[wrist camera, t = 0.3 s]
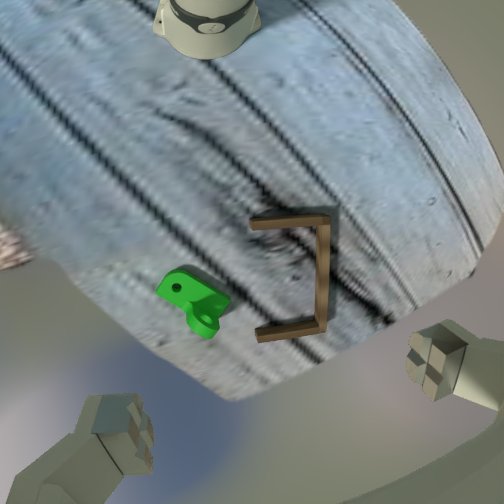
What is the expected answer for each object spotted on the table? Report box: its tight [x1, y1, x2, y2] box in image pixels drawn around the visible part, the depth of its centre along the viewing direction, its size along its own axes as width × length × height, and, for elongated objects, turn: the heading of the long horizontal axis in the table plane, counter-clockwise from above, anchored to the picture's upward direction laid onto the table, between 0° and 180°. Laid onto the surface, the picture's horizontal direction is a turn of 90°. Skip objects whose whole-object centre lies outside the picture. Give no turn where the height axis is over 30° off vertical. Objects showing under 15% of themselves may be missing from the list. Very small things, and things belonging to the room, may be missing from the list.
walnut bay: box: [249, 213, 330, 343], centre depth 58 cm, size 23×14×3 cm, turn 3°
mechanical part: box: [155, 269, 230, 339], centre depth 53 cm, size 12×6×8 cm, turn 54°
